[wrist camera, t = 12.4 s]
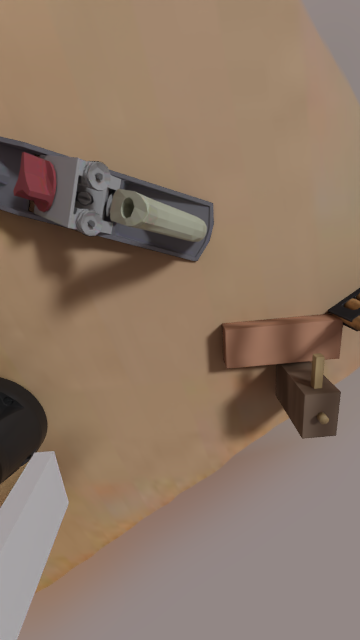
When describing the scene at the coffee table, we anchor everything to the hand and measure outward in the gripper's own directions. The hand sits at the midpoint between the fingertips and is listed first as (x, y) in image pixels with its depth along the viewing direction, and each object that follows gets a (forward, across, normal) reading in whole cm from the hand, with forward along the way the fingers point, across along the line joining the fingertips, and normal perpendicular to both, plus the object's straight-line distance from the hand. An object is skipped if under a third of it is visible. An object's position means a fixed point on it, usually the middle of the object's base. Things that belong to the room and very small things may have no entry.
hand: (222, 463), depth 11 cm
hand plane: (+27, -11, +13) cm, 32 cm away
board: (+26, +12, -6) cm, 30 cm away
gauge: (+27, +14, -11) cm, 32 cm away
